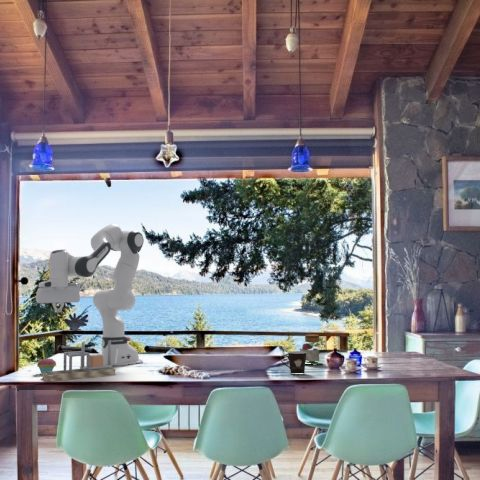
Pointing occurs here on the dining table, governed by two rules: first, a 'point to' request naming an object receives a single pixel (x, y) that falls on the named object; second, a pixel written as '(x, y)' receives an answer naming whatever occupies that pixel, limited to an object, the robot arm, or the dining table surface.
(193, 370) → the dining table surface
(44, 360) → the cupcake
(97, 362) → the sled
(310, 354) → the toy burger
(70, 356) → the tunnel
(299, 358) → the coffee mug
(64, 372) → the board
